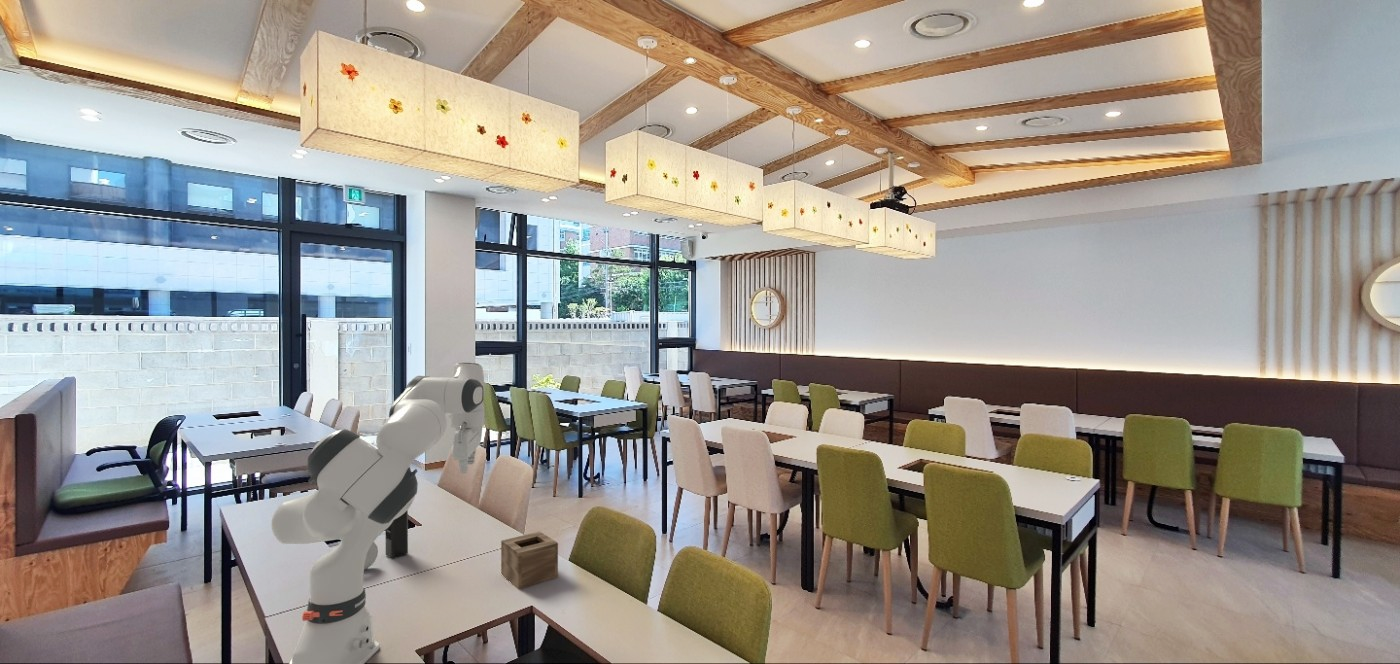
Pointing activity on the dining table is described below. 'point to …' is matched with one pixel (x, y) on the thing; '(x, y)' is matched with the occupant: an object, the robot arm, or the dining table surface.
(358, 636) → the robot arm
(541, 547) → the slot box
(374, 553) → the donut
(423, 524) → the dining table surface
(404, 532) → the wine bottle
